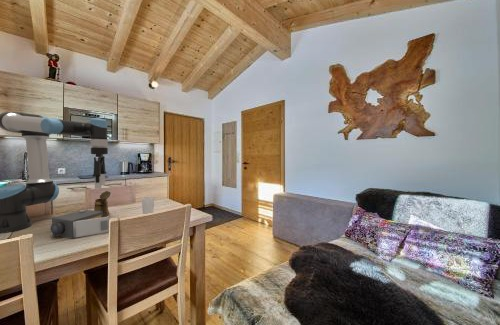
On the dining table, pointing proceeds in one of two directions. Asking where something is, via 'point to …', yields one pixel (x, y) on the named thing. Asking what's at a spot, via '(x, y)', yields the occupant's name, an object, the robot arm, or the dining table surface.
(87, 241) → the dining table surface
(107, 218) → the side door
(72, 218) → the camera housing
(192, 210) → the dining table surface
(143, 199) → the drinking glass
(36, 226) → the dining table surface
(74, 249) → the dining table surface
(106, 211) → the brown irregular piece
